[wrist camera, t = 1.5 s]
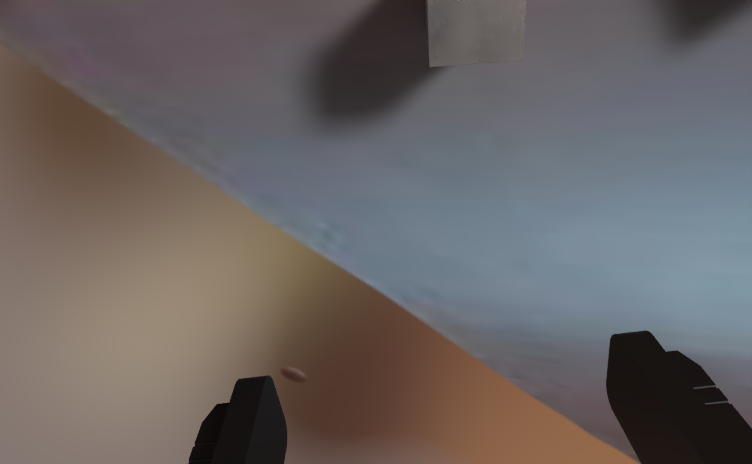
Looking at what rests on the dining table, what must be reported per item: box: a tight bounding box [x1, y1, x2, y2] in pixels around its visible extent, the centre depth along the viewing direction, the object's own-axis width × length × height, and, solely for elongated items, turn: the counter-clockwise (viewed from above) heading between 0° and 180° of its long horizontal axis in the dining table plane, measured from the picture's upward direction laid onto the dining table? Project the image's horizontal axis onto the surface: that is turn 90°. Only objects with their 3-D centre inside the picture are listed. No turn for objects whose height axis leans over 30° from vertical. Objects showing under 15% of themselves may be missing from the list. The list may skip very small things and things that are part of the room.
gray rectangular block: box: [425, 0, 526, 67], centre depth 29 cm, size 4×4×11 cm
